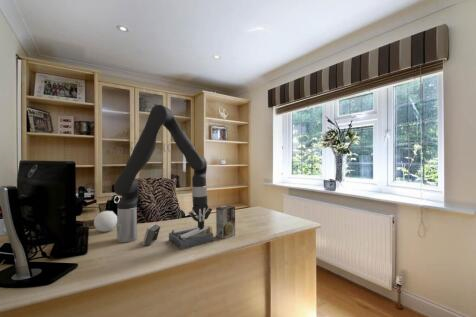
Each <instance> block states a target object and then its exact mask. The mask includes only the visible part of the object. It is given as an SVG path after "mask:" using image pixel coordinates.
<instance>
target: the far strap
mask: <svg viewBox="0 0 476 317" xmlns="http://www.w3.org/2000/svg"><path fill="white" fill-rule="evenodd" d="M195 229H198V225H196V226H191V227H185V228H181V229H177V230H176V229H174V230H175V231H173V233H174V234H175V233H176V232H178V234H179V233H184V232H188V231H193V230H195Z"/></svg>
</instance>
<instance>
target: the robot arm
mask: <svg viewBox="0 0 476 317" xmlns="http://www.w3.org/2000/svg"><path fill="white" fill-rule="evenodd" d="M162 126H163V127H164V128H165V129H166V130H167V131H168V132H169V134H170V135H171V137H172V140H173V142H174V143H175V145H176V147H177V148H178V149H179V151H180V152H181V153H182V155H183V156H184V158H185V160H186V161H187V164H188V165H189V167H190V168H191V169H192V170H194V172H193V176H192V178H191V180H192V183H191V184H192V186H191V187H192V191H191V192H192V193H191V195H192V209H191V211H188V215H189V216H190V217H191V219H192V220H194V221H195V222H197V226H198V228H199V229H202V228H204V226H205V220H208V218H209V216H210V214H211V213H212V210H213V208H210V207H209V205H208V189H207V177H206V176H207V170H208V169H207V168H208V162H207V160H206V158H205V157H203V156H200V155H199V154H198V153H197V150H196V147H195V145H194V144H193V143H192V141H191V140H190V138H189V137H188V136H187V134H186V133H185V132H184V130H182V128H181V127H180V124H179V123H178V121H177V119H176V117H175V115H174V114H173V112H172V110H171V109H170V108H168V107H167V106H164V105H162V104H157V105H154V106H153V107H152V109H151V110H150V112H149V115H148V118H147V121H146V123H145V126H144V128H143V130H142V132H141V134H140V136H139V138H138V140H137V142H136V143H135V145H134V148H133V150H132V152H131V153H130V156H129V158H128V160H127V162H126V165H125V166H124V168H123V170H122V171H121V173H120V175H119V176H118V177H117V179H116V180H115V183H114V186H113V189H114V192H115V194H116V195H118V196H120V197H121V198H120V200H119V201H118V203H117V224H116V240H117V242H118V244H121V243H130V242H133V241H136V240H137V239H138V222H137V221H138V220H137V219H138V216H137V215H138V213H137V212H138V209H137V207H138V205H137V204H138V201H139V193H140V192H139V181H138V180H137V179H136V177H137V175H138V173H139V172H140V171H141V170H142V169H143V168H144V167H145V166H146V165H147V163H148V162H149V161H150V160H151V158H152V156H153V153H154V151H155V149H156V145H157V137H158V133H159V132H160V131H159V130H160V129H161V128H162Z"/></svg>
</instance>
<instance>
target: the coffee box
mask: <svg viewBox="0 0 476 317" xmlns="http://www.w3.org/2000/svg"><path fill="white" fill-rule="evenodd" d="M215 208H216V209H215V212H216V213H215V216H216V217H215V218H216V220H215V221H216V222H215V223H216V224H215V226H216V230H215V231H216V234H215V235H216V237H218V238H220V239H223V240H224V239H227V238H231V237H233V236H235V235H236V207H235V206H234V205H230V204H225V205H221V206H218V207H215Z"/></svg>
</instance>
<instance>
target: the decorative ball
mask: <svg viewBox="0 0 476 317" xmlns="http://www.w3.org/2000/svg"><path fill="white" fill-rule="evenodd" d="M117 222H118V215H117V214H116V213H115V212H114V211H113V210H103V211H101V212H99V213H98V214H97V215H96V216H95V218H94V220H93V226H94V228H95V229H96V230H98V231H99V232H101V233H102V232H105V233H106V232H110V231H112V230H113V229H114V228H115V227H117Z"/></svg>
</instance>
